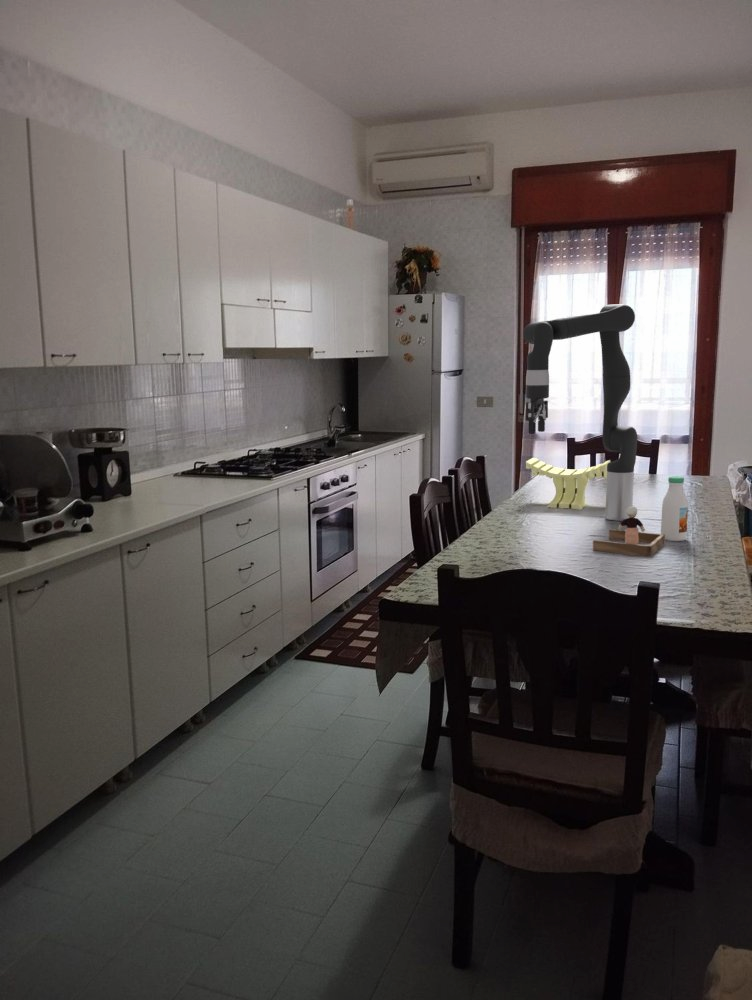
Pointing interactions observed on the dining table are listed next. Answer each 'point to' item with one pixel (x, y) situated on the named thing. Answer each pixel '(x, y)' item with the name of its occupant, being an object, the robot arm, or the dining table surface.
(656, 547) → the box
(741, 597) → the dining table surface
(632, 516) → the grandmother figurine
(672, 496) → the milk bottle
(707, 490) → the dining table surface
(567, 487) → the slatted curved stool
